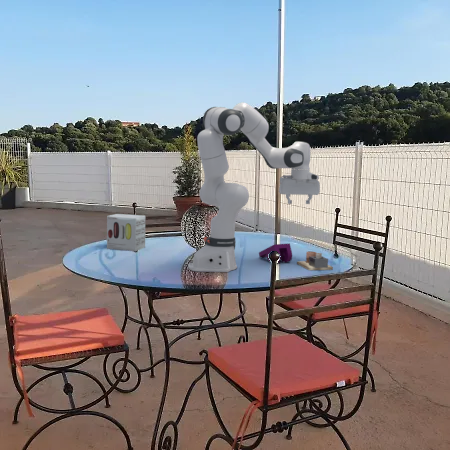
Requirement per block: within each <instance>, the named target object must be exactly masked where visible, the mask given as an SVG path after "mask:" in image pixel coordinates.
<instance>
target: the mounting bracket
mask: <svg viewBox="0 0 450 450" xmlns="http://www.w3.org/2000/svg"><path fill="white" fill-rule="evenodd" d="M271 251H277V252H278V253H279V254H280V256H281V257H280V260H279V261H278V263H280V261H281V262H282V263H290V262H291V261H292V258H293V251H292V247H291V243H278V244H272V245H270V246H269V247H266V248H265V249H263V250H261V251H259V252H258V254H259V258H261V257H262V258H267V260H268V262H269V261H270V260H269V258H268V254H269V253H270V252H271Z"/></svg>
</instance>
